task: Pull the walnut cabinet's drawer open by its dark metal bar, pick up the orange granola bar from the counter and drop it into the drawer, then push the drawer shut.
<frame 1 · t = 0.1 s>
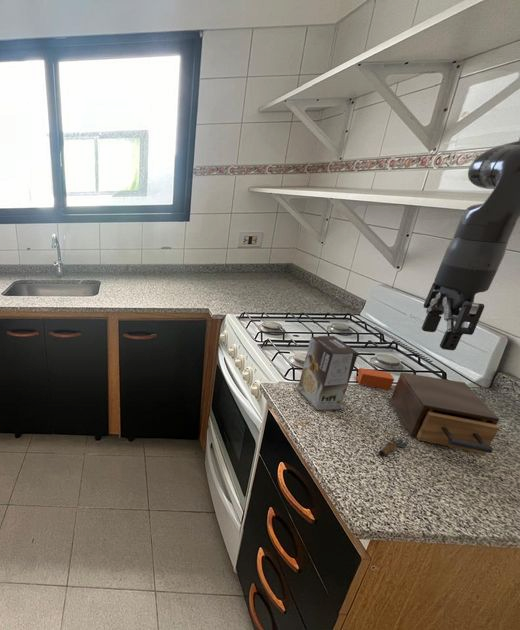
hand: (436, 339, 71), 23 cm above the counter, tool pointing down, fingers open, 8 cm apart
drawer: (448, 422, 75), point 4 cm above the counter, slide at 0.8 cm
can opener: (392, 449, 73), on the counter
cabinet: (431, 423, 81), on the counter
granola bar: (372, 383, 95), on the counter
coffee box: (317, 399, 90), on the counter
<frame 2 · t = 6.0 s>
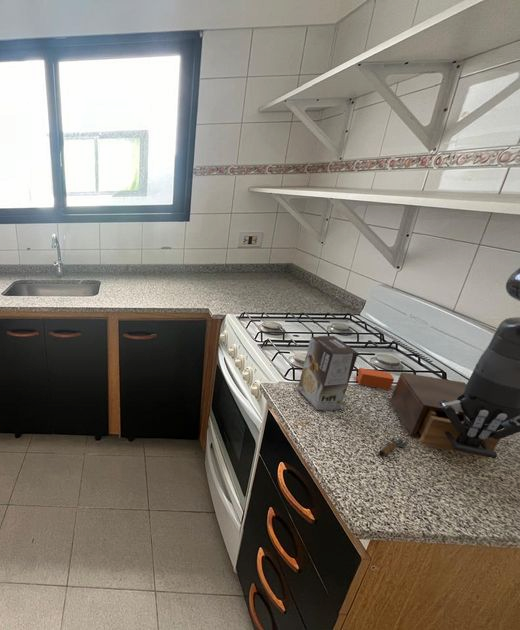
hand: (464, 448, 68), 4 cm above the counter, tool pointing down, fingers closed
drawer: (451, 426, 73), point 4 cm above the counter, slide at 2.2 cm, touching gripper
everything else where it was.
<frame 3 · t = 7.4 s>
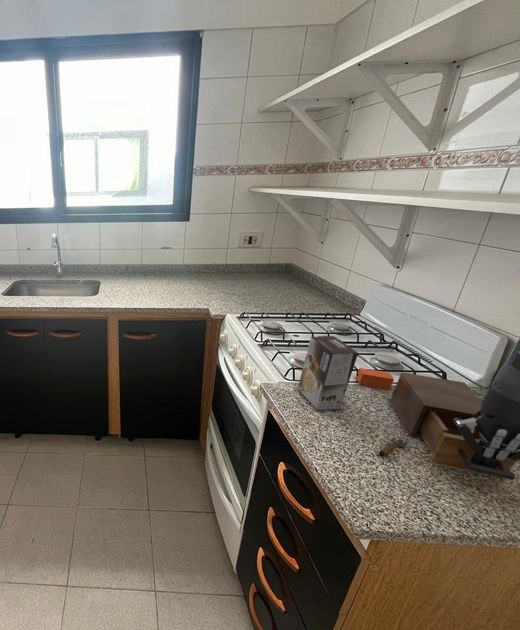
hand: (480, 469, 64), 4 cm above the counter, tool pointing down, fingers closed
drawer: (464, 443, 69), point 4 cm above the counter, slide at 7.4 cm
everything else where it was.
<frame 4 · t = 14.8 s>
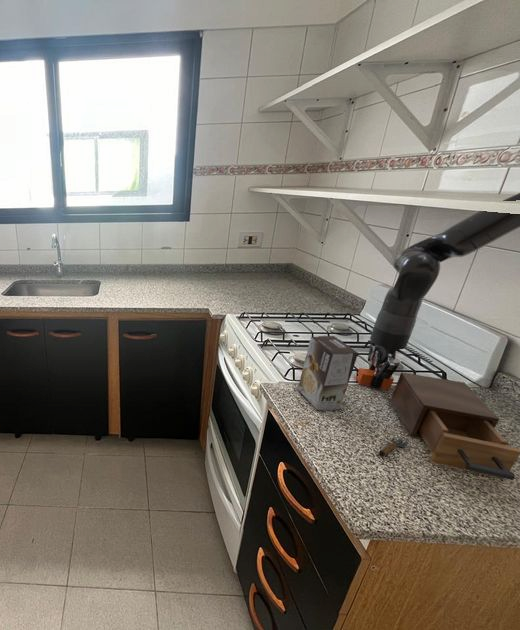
hand: (372, 383, 95), 0 cm above the counter, tool pointing down, fingers closed on granola bar, 3 cm apart
granola bar: (372, 383, 95), on the counter, touching gripper
everything else where it was.
when the fingers open (7 cm above the counter, at t = 21.0 s): granola bar drops 5 cm, resting on drawer.
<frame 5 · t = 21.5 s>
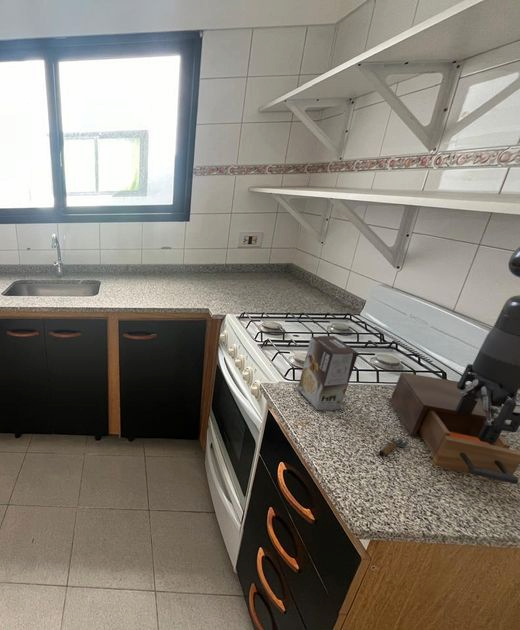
hand: (473, 426, 67), 8 cm above the counter, tool pointing down, fingers open, 7 cm apart
drawer: (466, 447, 68), point 4 cm above the counter, slide at 8.4 cm, touching granola bar
granola bar: (460, 453, 70), point 2 cm above the counter, touching drawer
everything else where it was.
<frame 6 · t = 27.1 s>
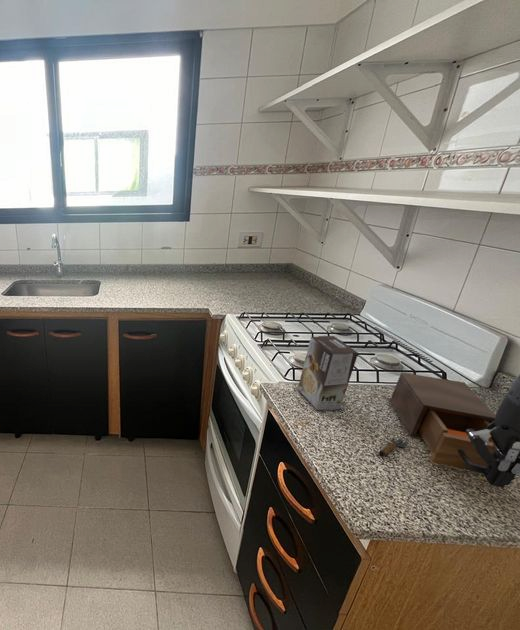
hand: (493, 483, 61), 4 cm above the counter, tool pointing down, fingers closed
drawer: (464, 443, 69), point 4 cm above the counter, slide at 7.5 cm, touching granola bar
everything else where it was.
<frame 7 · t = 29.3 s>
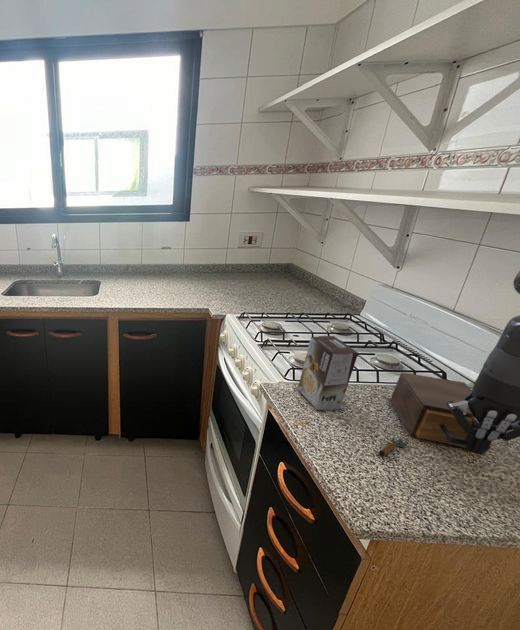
hand: (472, 450, 67), 5 cm above the counter, tool pointing down, fingers closed
drawer: (446, 420, 75), point 4 cm above the counter, slide at 0.0 cm, touching cabinet, granola bar
granola bar: (441, 426, 77), point 2 cm above the counter, touching drawer
everything else where it was.
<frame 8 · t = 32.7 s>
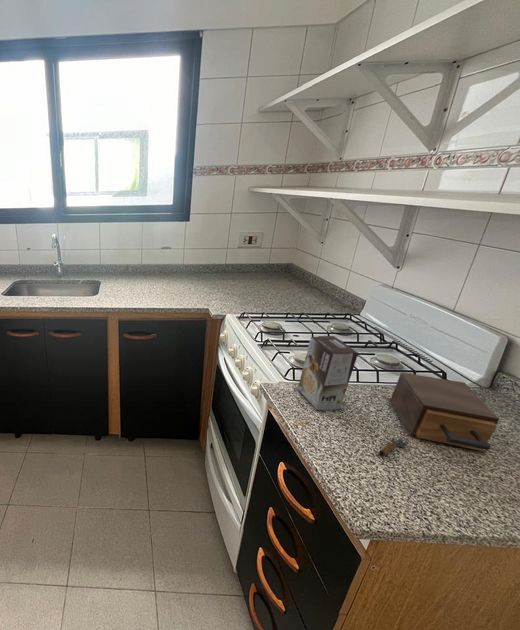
nothing on the counter moved.
at the end: drawer pulled out 8.4 cm at the most during the clip, back to where it started at the end; granola bar inside the target area in the cabinet (3.4 cm from its centre), point 2.0 cm above the cabinet's base; drawer slide at 0.0 cm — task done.
